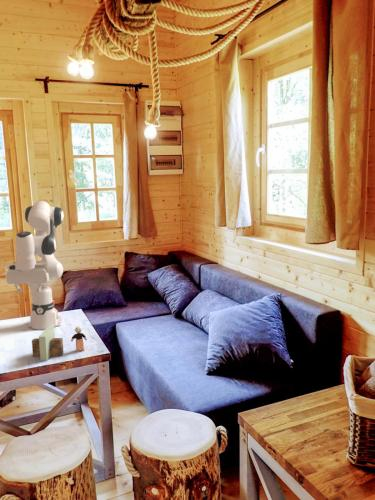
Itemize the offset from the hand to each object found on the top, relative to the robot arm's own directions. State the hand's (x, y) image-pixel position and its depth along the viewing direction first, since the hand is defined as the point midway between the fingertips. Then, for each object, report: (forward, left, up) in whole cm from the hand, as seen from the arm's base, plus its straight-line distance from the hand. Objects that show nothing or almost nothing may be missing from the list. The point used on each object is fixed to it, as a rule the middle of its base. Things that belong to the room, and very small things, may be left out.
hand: (29, 291), depth 214 cm
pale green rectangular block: (+9, +10, -30) cm, 33 cm away
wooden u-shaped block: (+9, +10, -30) cm, 33 cm away
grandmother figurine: (+5, +25, -30) cm, 39 cm away
